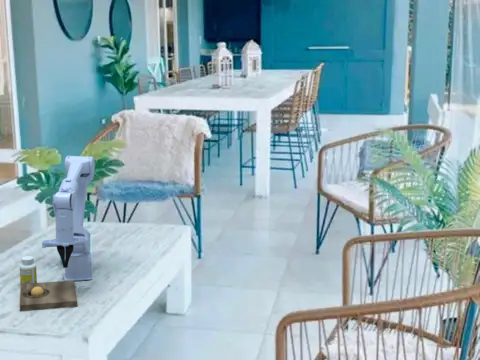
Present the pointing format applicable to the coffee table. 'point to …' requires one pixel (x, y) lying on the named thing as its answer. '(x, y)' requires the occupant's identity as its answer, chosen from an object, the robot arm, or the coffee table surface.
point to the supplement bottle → (28, 270)
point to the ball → (37, 291)
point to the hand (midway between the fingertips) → (65, 266)
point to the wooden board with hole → (48, 296)
